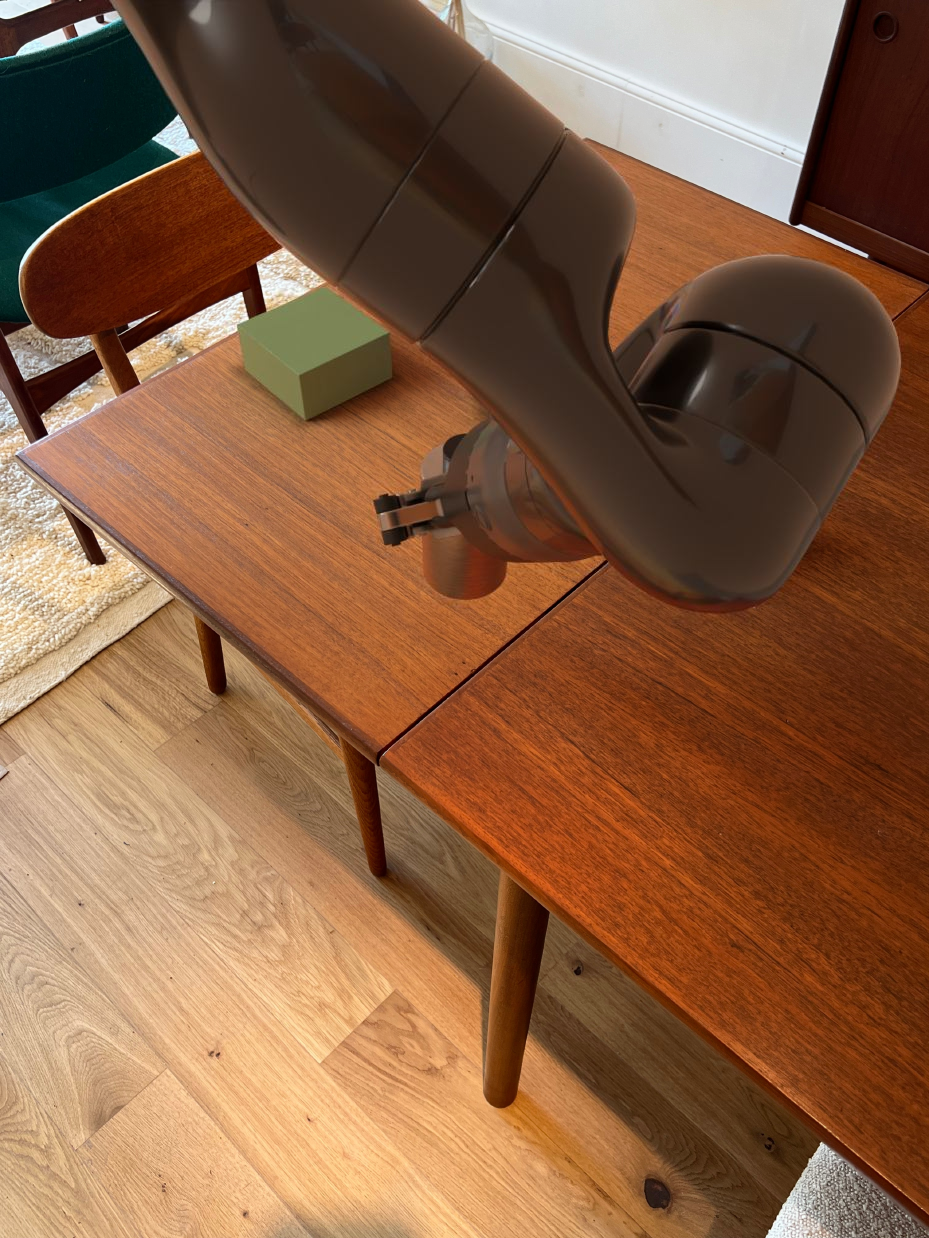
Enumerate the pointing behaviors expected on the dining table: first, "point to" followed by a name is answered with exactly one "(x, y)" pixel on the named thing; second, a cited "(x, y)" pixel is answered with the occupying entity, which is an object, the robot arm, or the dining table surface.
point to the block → (315, 352)
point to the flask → (456, 547)
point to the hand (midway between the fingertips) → (455, 503)
